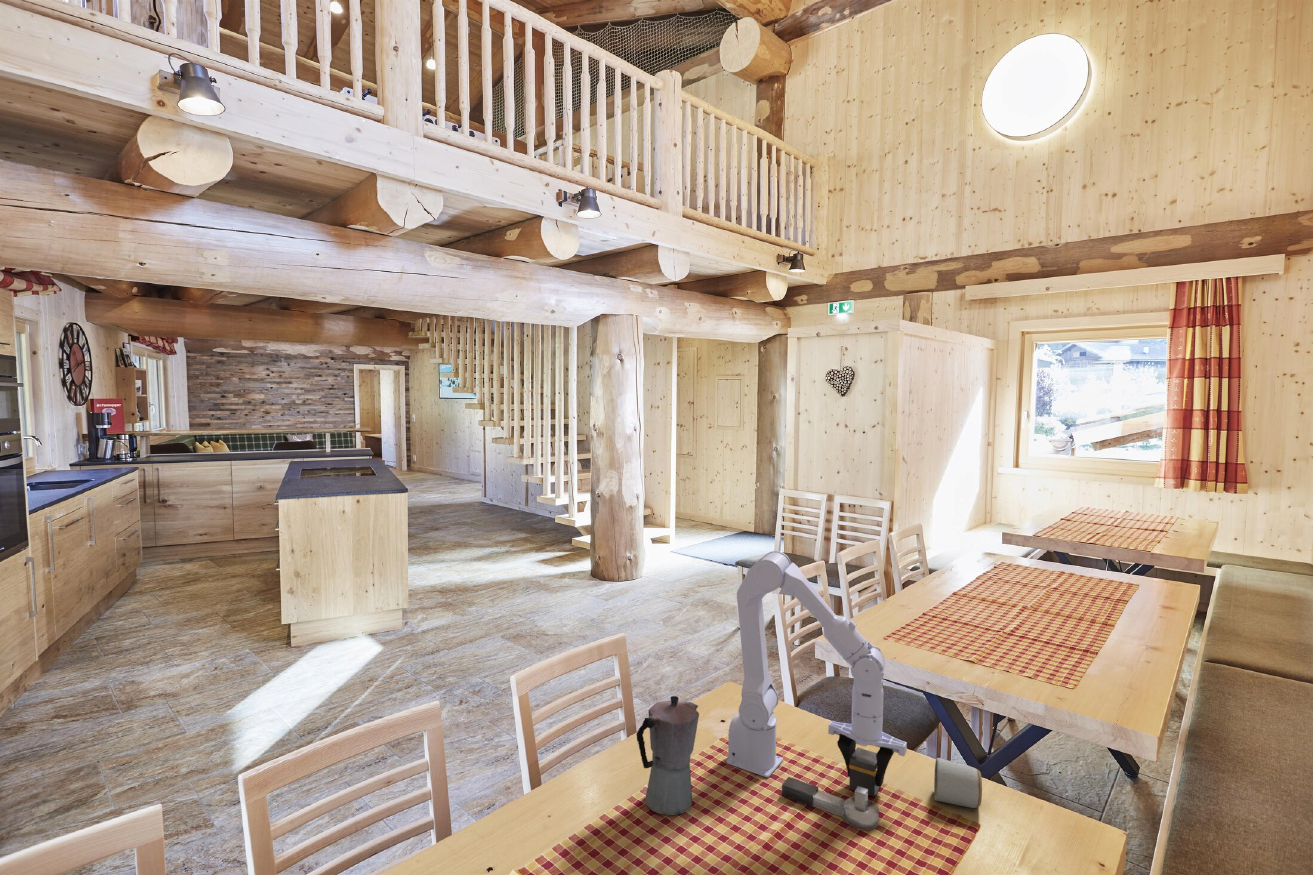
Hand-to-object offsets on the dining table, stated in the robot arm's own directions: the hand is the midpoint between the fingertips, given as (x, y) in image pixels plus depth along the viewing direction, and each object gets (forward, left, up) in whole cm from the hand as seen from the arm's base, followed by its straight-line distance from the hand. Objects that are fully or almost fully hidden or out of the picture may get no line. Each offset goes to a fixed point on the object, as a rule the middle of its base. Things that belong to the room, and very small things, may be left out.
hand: (865, 779), depth 124 cm
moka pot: (-29, -26, -2) cm, 39 cm away
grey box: (0, 0, -1) cm, 1 cm away
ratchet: (-4, -10, -2) cm, 11 cm away
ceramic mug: (+15, +7, -2) cm, 17 cm away
